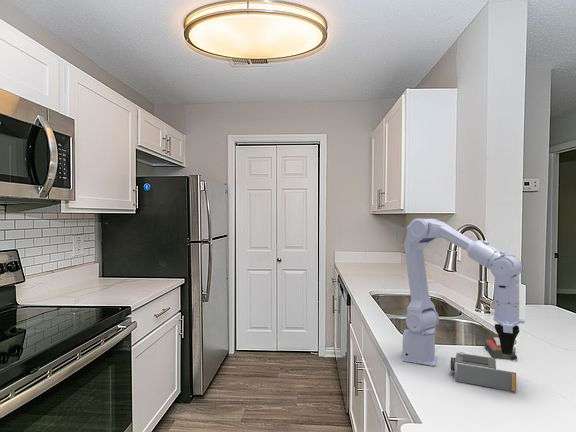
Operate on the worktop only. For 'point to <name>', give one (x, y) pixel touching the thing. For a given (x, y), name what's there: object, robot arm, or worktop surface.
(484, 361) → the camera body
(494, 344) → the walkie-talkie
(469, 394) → the worktop surface
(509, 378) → the side door
